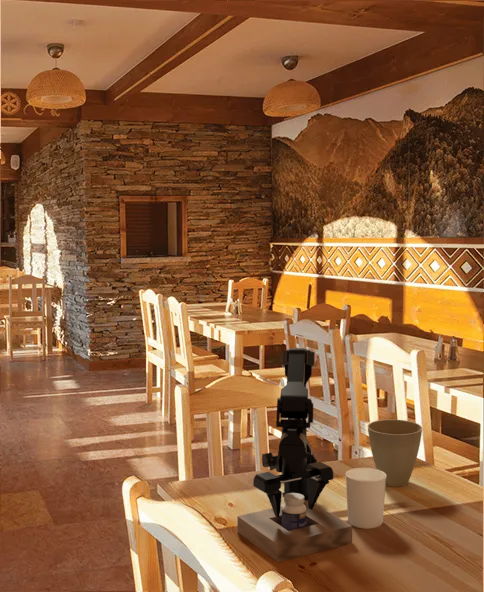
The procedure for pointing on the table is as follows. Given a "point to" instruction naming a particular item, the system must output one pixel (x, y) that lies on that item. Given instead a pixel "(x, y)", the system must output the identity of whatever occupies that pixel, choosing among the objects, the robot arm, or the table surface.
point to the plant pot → (395, 448)
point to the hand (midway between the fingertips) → (293, 512)
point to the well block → (294, 533)
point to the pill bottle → (293, 512)
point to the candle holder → (365, 497)
